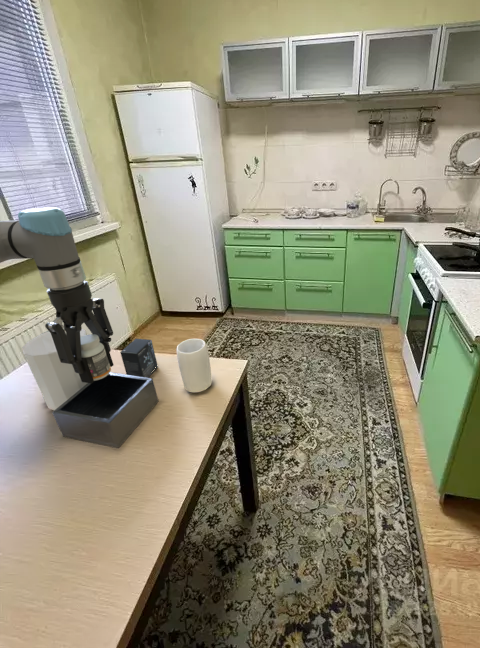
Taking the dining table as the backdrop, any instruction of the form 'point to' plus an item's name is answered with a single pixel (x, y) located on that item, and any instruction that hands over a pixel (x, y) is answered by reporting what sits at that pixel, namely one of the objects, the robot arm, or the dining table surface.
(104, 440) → the bin
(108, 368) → the pill bottle
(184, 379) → the cup
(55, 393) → the container
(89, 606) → the dining table surface
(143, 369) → the box
